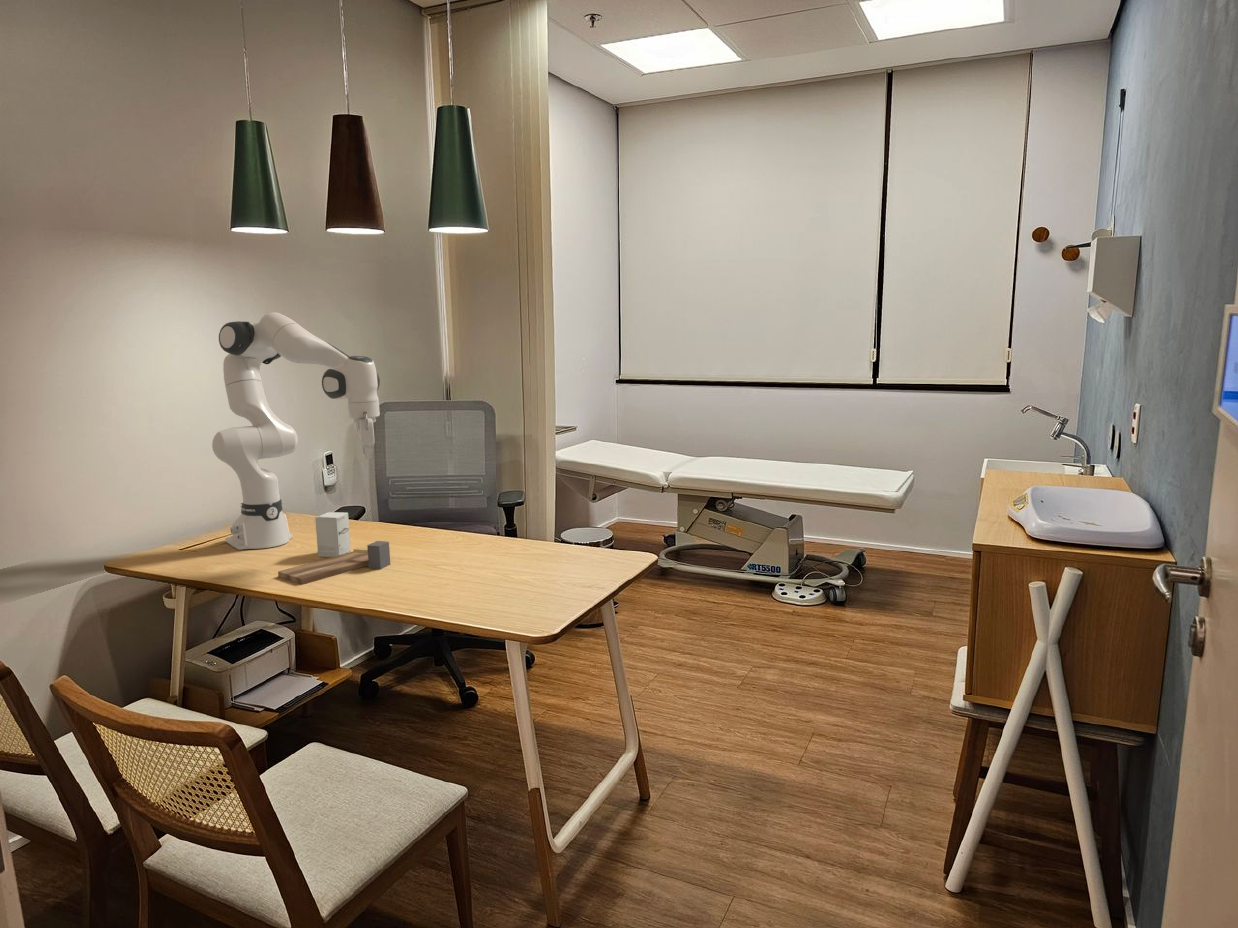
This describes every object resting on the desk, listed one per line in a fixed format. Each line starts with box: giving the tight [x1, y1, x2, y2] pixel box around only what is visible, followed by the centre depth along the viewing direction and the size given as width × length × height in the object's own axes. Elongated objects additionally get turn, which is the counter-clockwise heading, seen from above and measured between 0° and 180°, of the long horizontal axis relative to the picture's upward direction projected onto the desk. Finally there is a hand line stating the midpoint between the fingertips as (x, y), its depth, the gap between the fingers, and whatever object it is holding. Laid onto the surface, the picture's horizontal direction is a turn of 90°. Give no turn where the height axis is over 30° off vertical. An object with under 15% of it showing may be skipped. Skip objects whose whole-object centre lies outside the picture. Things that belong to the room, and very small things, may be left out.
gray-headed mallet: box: [353, 540, 391, 570], centre depth 239 cm, size 10×5×7 cm, turn 73°
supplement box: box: [314, 511, 352, 558], centre depth 251 cm, size 7×7×13 cm
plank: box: [277, 550, 369, 586], centre depth 237 cm, size 12×28×2 cm, turn 142°
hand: (367, 456), depth 244 cm, fingers open, 8 cm apart
